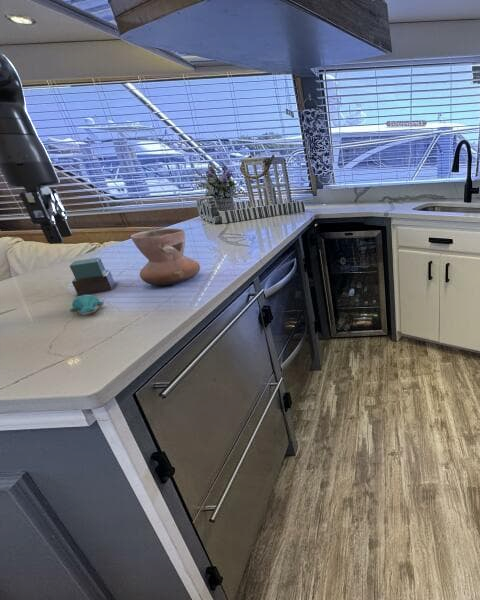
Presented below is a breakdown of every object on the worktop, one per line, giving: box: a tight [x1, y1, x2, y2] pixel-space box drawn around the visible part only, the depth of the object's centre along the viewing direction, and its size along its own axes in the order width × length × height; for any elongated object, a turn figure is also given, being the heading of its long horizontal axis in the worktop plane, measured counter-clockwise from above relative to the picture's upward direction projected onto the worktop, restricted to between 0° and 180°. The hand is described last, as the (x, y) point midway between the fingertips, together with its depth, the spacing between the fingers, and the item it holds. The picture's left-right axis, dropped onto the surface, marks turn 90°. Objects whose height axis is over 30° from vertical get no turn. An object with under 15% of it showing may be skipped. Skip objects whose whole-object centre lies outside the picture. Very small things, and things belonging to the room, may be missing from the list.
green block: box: [69, 257, 107, 280], centre depth 87 cm, size 6×6×4 cm
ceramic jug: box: [130, 228, 201, 286], centre depth 91 cm, size 18×14×14 cm
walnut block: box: [71, 269, 116, 297], centre depth 89 cm, size 7×7×4 cm
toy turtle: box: [69, 294, 105, 316], centre depth 74 cm, size 6×7×4 cm
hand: (61, 239), depth 71 cm, fingers open, 8 cm apart
